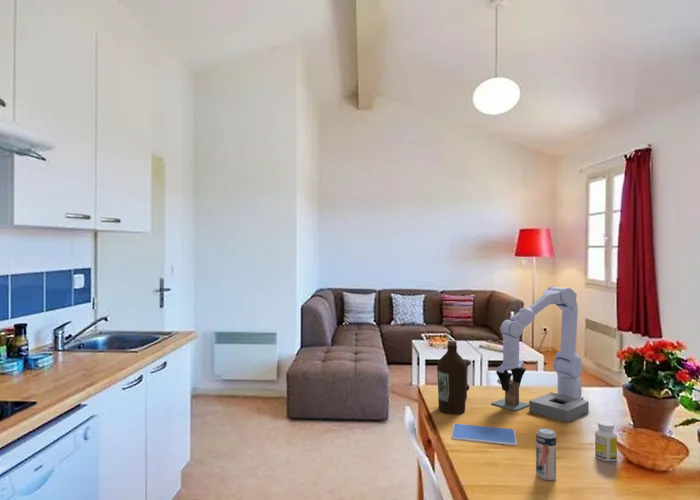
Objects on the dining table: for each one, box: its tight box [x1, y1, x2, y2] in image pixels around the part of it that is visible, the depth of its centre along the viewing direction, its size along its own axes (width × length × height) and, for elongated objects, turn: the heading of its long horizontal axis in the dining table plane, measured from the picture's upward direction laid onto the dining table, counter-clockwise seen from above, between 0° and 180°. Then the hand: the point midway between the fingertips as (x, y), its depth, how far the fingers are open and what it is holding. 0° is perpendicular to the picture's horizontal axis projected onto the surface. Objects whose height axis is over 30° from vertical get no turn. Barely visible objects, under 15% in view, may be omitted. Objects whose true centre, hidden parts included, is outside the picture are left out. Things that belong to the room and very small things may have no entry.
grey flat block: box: [528, 391, 590, 423], centre depth 173 cm, size 16×14×4 cm
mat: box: [491, 397, 529, 412], centre depth 180 cm, size 10×10×1 cm
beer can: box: [535, 427, 557, 482], centre depth 123 cm, size 5×5×12 cm
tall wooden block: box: [504, 380, 520, 406], centre depth 179 cm, size 4×4×8 cm
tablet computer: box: [450, 423, 518, 446], centre depth 151 cm, size 19×13×1 cm, turn 74°
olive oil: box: [436, 340, 468, 415], centre depth 174 cm, size 11×11×25 cm
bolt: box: [462, 358, 472, 400], centre depth 187 cm, size 6×5×15 cm
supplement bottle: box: [594, 420, 618, 462], centre depth 134 cm, size 5×5×10 cm
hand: (511, 388), depth 180 cm, fingers open, 7 cm apart
